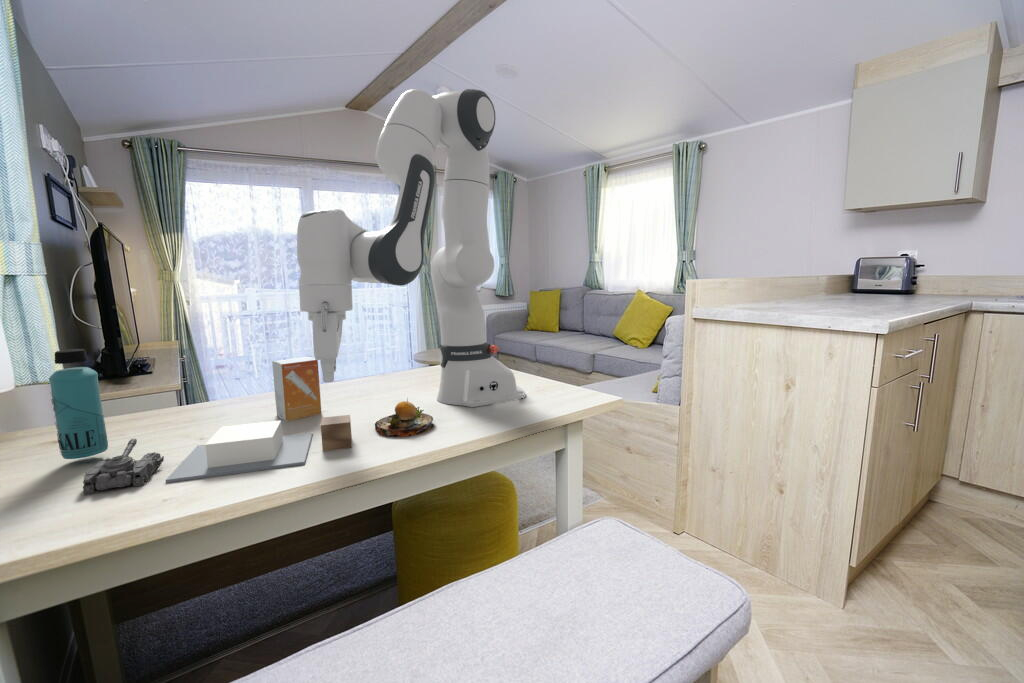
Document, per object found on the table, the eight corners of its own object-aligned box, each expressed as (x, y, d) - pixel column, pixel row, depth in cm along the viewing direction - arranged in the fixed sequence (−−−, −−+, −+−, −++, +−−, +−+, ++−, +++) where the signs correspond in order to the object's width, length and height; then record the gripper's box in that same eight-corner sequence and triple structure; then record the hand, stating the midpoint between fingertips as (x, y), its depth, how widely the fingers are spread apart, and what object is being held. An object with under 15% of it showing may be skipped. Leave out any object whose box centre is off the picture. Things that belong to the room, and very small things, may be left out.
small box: (286, 422, 103) (280, 364, 102) (276, 416, 108) (271, 360, 106) (322, 414, 109) (318, 358, 107) (312, 409, 114) (307, 355, 112)
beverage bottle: (102, 451, 88) (86, 345, 85) (117, 457, 84) (101, 347, 82) (55, 463, 82) (36, 350, 79) (70, 471, 79) (51, 353, 76)
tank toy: (103, 471, 80) (99, 442, 79) (170, 461, 83) (167, 433, 83) (72, 502, 69) (67, 468, 68) (151, 488, 73) (147, 456, 72)
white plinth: (283, 440, 90) (281, 420, 90) (274, 459, 81) (272, 437, 80) (223, 447, 87) (221, 426, 87) (207, 467, 78) (205, 444, 77)
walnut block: (351, 439, 92) (350, 414, 91) (351, 448, 87) (349, 422, 86) (324, 442, 90) (322, 417, 90) (322, 451, 86) (320, 425, 85)
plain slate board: (312, 434, 95) (312, 432, 95) (304, 464, 80) (304, 461, 80) (197, 448, 89) (197, 445, 88) (165, 482, 73) (165, 479, 73)
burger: (432, 418, 105) (430, 385, 104) (435, 435, 94) (434, 398, 93) (376, 422, 103) (374, 389, 102) (373, 441, 91) (370, 403, 90)
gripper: (344, 303, 76) (347, 387, 78) (345, 298, 95) (348, 366, 97) (301, 304, 74) (306, 390, 76) (312, 298, 93) (315, 367, 95)
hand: (330, 376), depth 86 cm, fingers open, 8 cm apart
